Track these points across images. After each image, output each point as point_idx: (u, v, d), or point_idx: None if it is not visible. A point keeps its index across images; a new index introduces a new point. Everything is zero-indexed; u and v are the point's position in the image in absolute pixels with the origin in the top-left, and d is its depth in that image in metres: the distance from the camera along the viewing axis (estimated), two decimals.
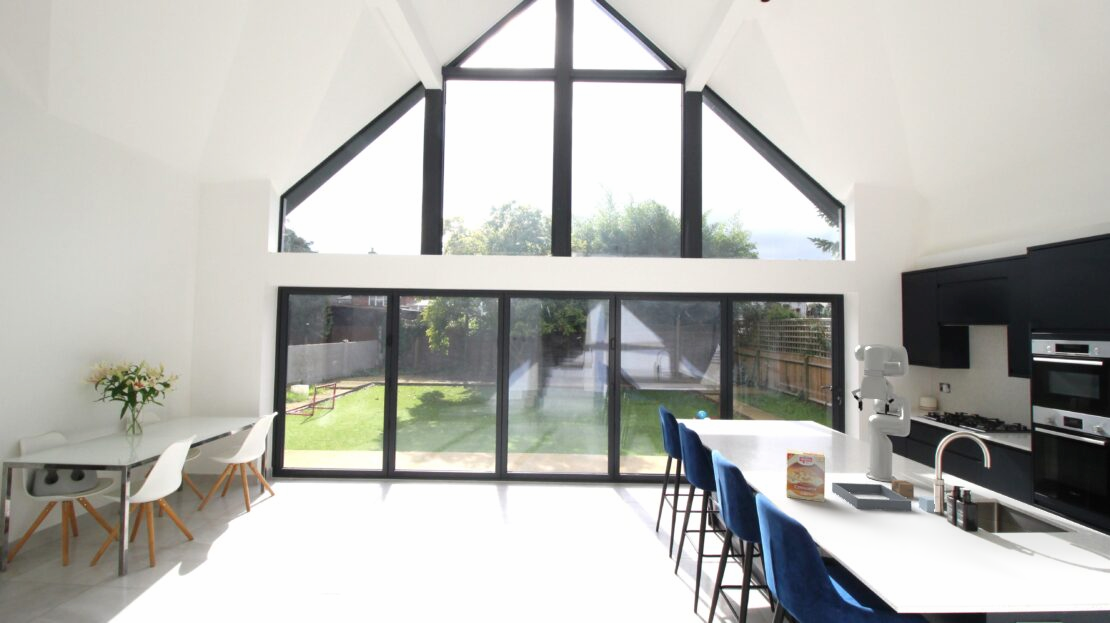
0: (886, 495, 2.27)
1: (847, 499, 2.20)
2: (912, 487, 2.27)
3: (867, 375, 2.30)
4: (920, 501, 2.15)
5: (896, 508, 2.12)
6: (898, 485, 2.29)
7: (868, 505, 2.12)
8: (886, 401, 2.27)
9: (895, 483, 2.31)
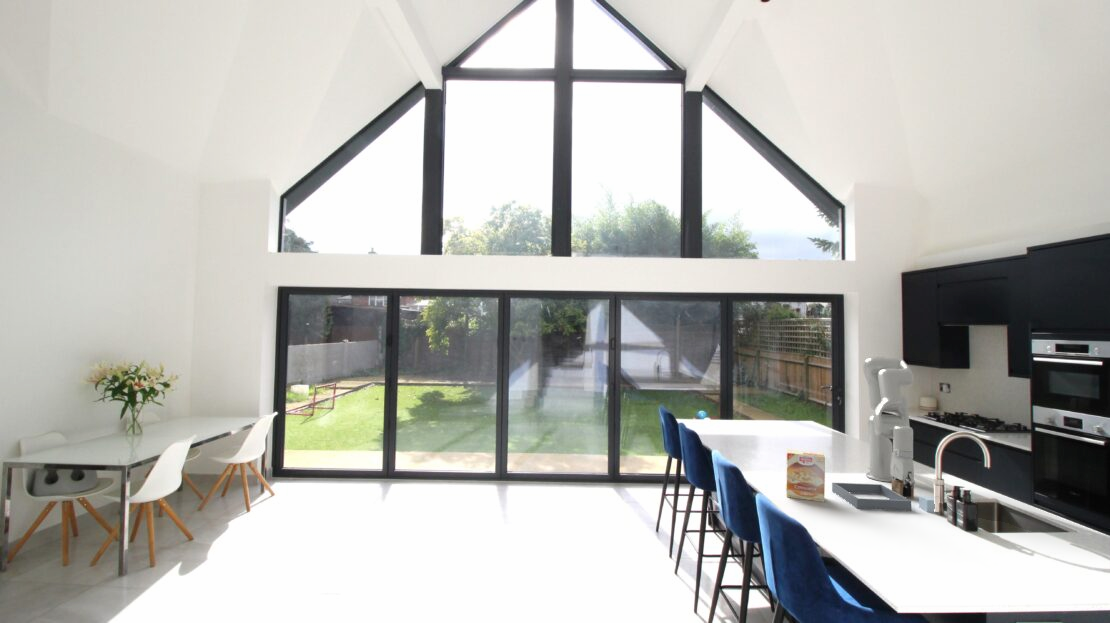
0: (886, 495, 2.27)
1: (847, 499, 2.20)
2: (912, 486, 2.27)
3: (912, 456, 2.28)
4: (920, 501, 2.15)
5: (896, 508, 2.12)
6: (898, 485, 2.29)
7: (868, 505, 2.12)
8: None
9: (895, 483, 2.31)
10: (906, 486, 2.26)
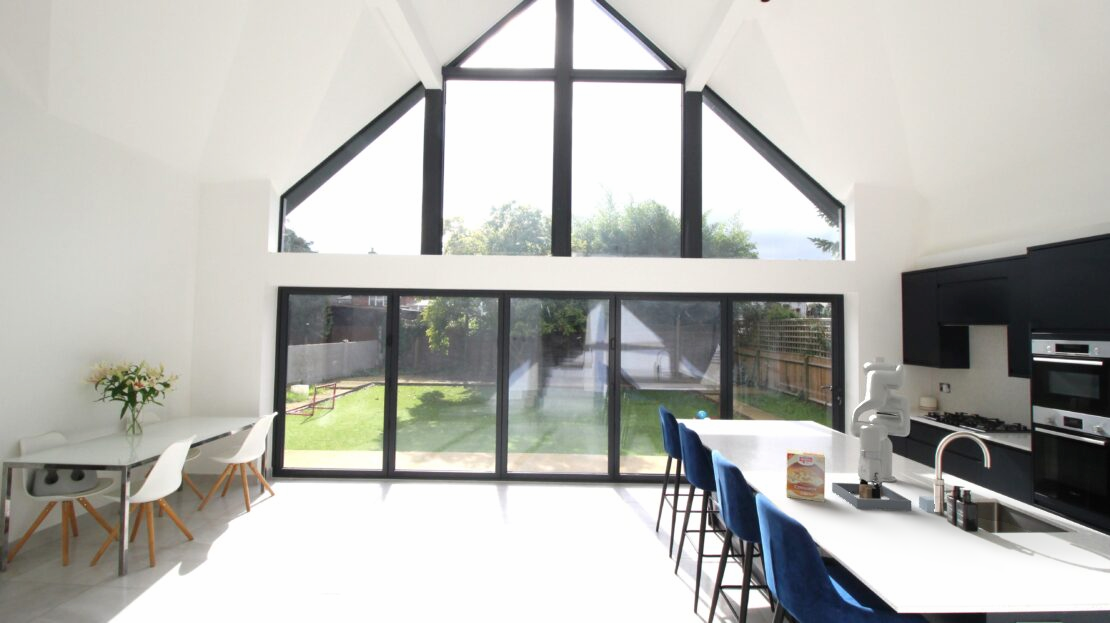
0: (886, 495, 2.27)
1: (847, 499, 2.20)
2: None
3: (880, 457, 2.21)
4: (920, 501, 2.15)
5: (896, 508, 2.12)
6: (865, 490, 2.21)
7: (868, 505, 2.12)
8: None
9: (862, 488, 2.23)
10: (874, 487, 2.17)
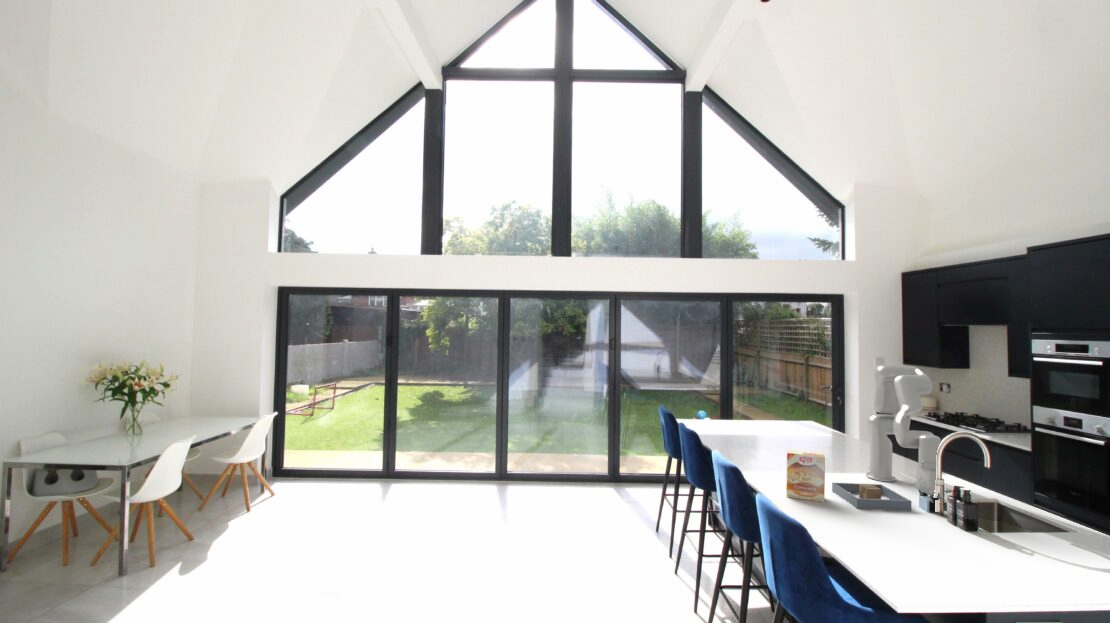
0: (886, 495, 2.27)
1: (847, 499, 2.20)
2: (879, 491, 2.20)
3: None
4: (919, 501, 2.15)
5: (896, 508, 2.12)
6: (865, 490, 2.21)
7: (868, 505, 2.12)
8: None
9: (862, 488, 2.23)
10: (933, 501, 2.09)
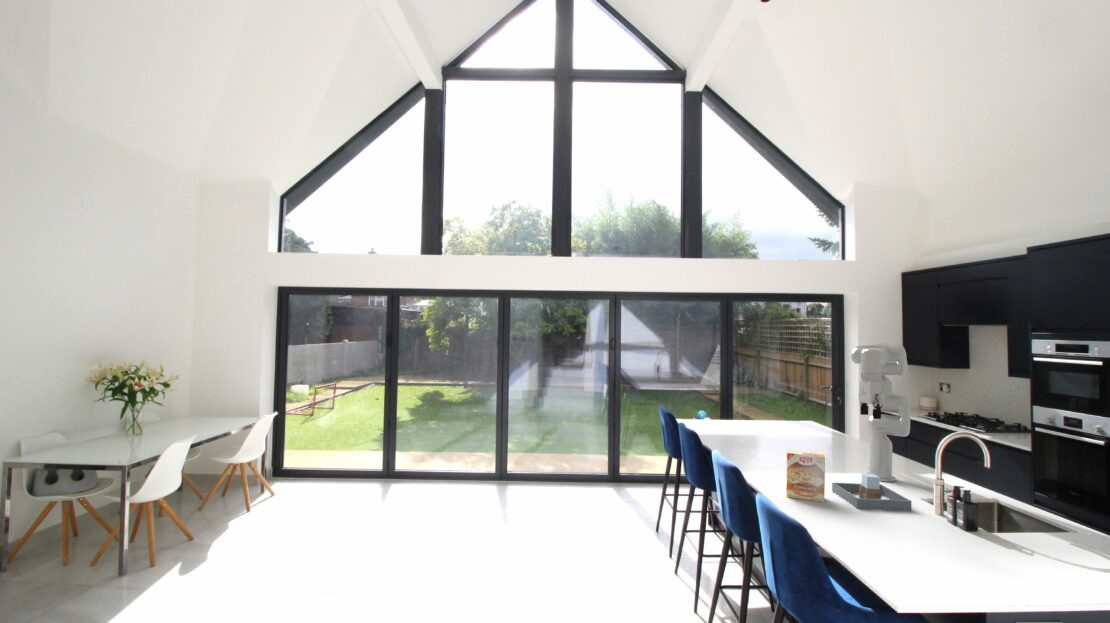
0: (886, 495, 2.27)
1: (847, 499, 2.20)
2: (879, 491, 2.20)
3: (880, 379, 2.21)
4: (862, 478, 2.25)
5: (896, 508, 2.12)
6: (865, 490, 2.21)
7: (868, 505, 2.12)
8: None
9: (862, 488, 2.23)
10: (875, 407, 2.18)
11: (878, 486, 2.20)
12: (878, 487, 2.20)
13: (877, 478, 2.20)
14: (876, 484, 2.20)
